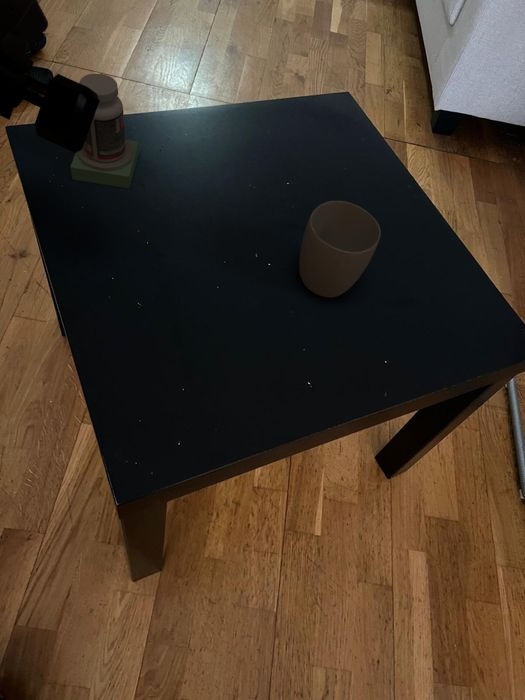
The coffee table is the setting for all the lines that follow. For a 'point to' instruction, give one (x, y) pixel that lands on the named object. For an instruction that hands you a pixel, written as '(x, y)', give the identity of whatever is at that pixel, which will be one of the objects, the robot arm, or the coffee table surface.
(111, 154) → the pill bottle
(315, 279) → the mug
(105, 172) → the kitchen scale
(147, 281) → the coffee table surface
